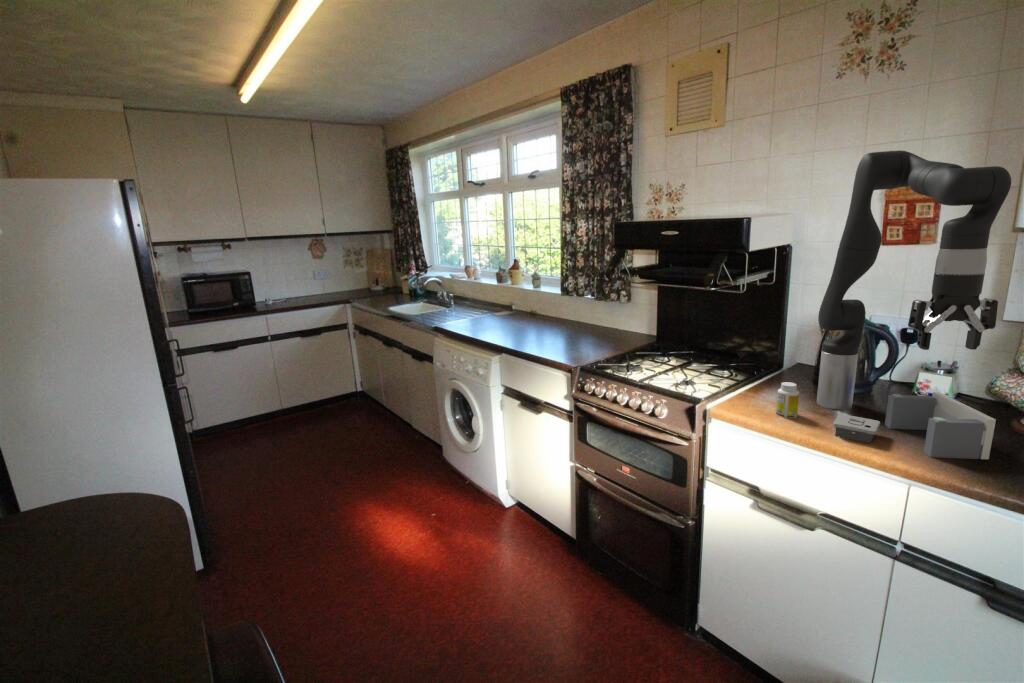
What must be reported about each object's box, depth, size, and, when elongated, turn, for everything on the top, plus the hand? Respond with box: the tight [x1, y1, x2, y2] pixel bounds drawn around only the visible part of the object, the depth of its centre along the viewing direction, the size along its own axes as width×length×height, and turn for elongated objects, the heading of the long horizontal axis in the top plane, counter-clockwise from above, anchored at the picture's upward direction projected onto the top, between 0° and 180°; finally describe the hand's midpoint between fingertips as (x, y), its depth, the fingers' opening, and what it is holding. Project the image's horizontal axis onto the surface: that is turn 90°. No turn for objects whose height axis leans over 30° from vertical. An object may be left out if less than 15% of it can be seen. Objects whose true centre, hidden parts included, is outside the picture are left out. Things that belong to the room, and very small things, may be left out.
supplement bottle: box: [775, 381, 800, 419], centre depth 142 cm, size 6×6×10 cm
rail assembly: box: [884, 391, 997, 460], centre depth 122 cm, size 20×12×10 cm, turn 169°
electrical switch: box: [832, 413, 881, 444], centre depth 127 cm, size 9×5×9 cm
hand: (946, 348), depth 100 cm, fingers open, 8 cm apart
